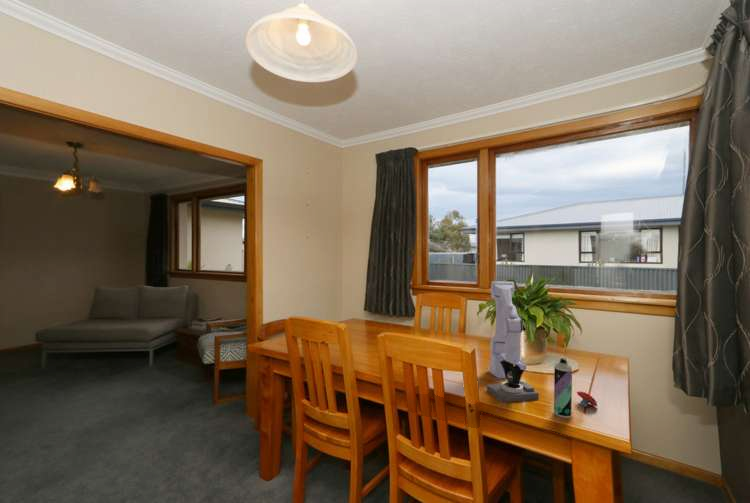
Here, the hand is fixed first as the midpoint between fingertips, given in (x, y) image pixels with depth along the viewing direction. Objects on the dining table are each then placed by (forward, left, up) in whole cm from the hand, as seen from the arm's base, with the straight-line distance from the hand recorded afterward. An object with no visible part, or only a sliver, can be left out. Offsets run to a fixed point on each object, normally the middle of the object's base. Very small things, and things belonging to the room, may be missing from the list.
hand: (512, 381), depth 136 cm
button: (+14, +22, -6) cm, 27 cm away
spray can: (+18, +8, -6) cm, 20 cm away
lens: (0, +1, -2) cm, 2 cm away
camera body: (0, 0, -5) cm, 5 cm away
